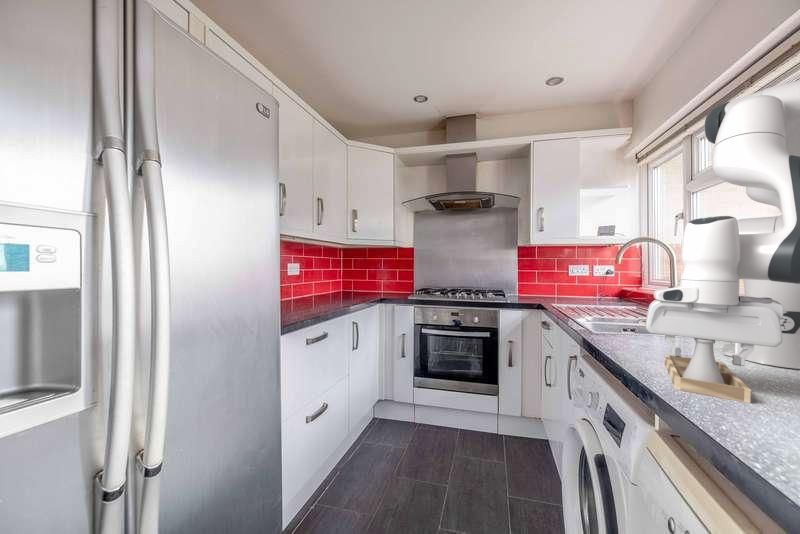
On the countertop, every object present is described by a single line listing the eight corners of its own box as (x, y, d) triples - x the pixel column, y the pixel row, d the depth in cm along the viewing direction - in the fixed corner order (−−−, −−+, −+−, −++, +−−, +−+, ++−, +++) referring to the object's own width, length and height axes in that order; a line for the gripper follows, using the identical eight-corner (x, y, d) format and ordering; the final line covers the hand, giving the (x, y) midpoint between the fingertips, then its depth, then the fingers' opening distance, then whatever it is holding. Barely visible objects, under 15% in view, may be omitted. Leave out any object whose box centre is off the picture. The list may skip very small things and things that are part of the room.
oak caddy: (664, 364, 82) (664, 354, 82) (722, 372, 76) (722, 362, 75) (675, 389, 65) (675, 377, 65) (750, 403, 59) (750, 389, 59)
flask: (737, 395, 62) (739, 344, 62) (691, 390, 64) (693, 341, 64) (713, 382, 69) (714, 336, 68) (672, 378, 71) (674, 333, 71)
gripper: (777, 297, 62) (774, 366, 63) (645, 290, 74) (644, 349, 74) (790, 299, 57) (788, 375, 58) (647, 292, 69) (645, 355, 69)
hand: (705, 360), depth 66 cm, fingers open, 8 cm apart
